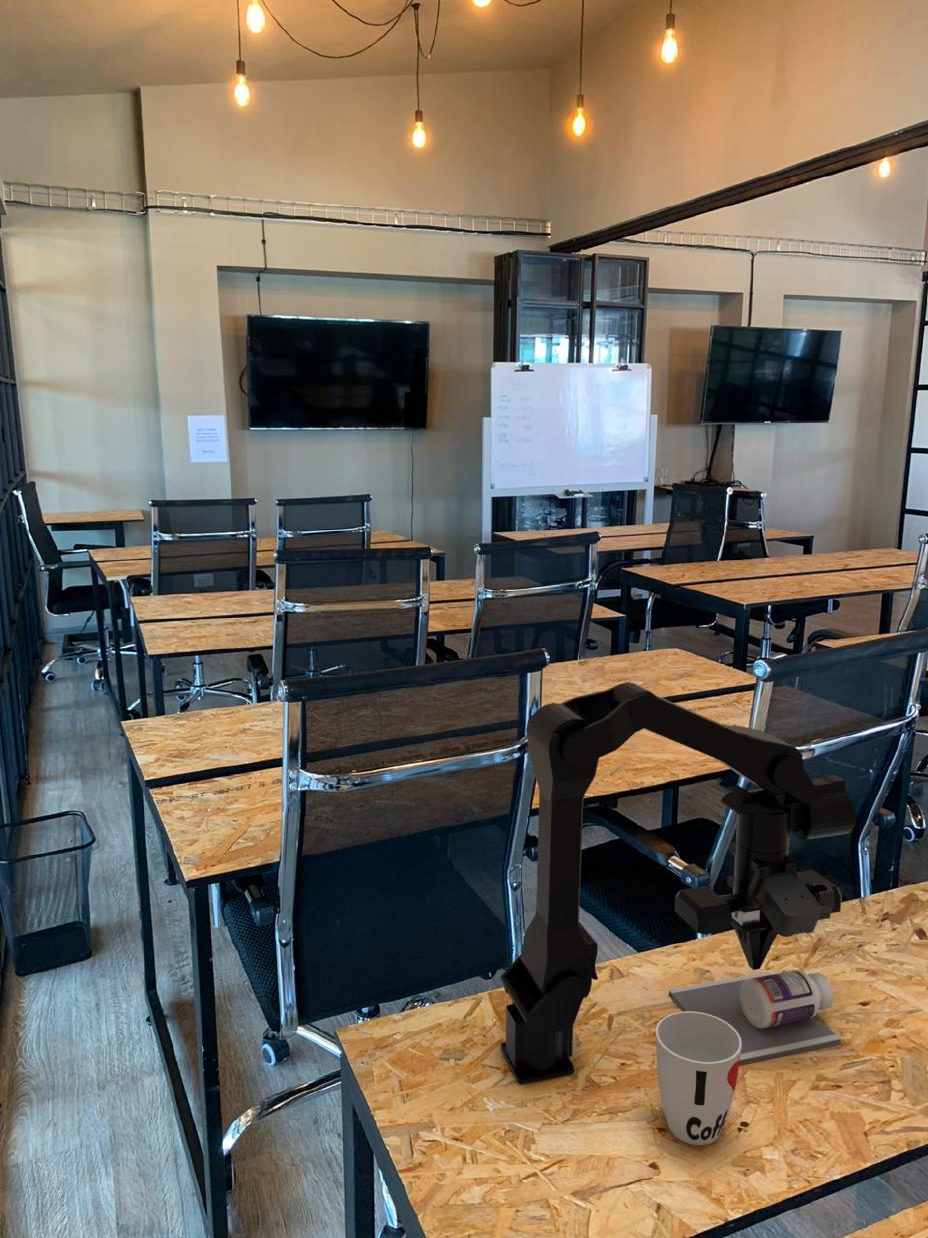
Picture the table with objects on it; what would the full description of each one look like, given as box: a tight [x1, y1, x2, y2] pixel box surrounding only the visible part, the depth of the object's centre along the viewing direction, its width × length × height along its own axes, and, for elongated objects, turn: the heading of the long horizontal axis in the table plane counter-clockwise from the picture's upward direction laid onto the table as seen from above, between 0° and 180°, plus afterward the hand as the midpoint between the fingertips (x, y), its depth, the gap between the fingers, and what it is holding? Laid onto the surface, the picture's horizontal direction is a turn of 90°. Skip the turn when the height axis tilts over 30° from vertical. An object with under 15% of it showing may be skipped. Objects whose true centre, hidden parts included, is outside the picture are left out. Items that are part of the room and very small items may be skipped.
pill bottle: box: [740, 969, 835, 1029], centre depth 108 cm, size 5×5×10 cm
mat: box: [668, 971, 842, 1067], centre depth 109 cm, size 14×14×1 cm
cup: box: [655, 1011, 742, 1146], centre depth 91 cm, size 8×8×10 cm
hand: (754, 968), depth 108 cm, fingers closed
